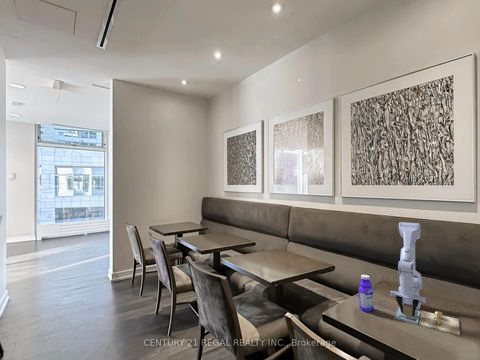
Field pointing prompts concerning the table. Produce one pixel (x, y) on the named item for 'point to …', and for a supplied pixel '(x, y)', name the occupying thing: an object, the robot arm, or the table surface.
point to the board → (446, 325)
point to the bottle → (366, 294)
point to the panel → (404, 318)
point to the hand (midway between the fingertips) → (407, 313)
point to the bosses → (438, 317)
